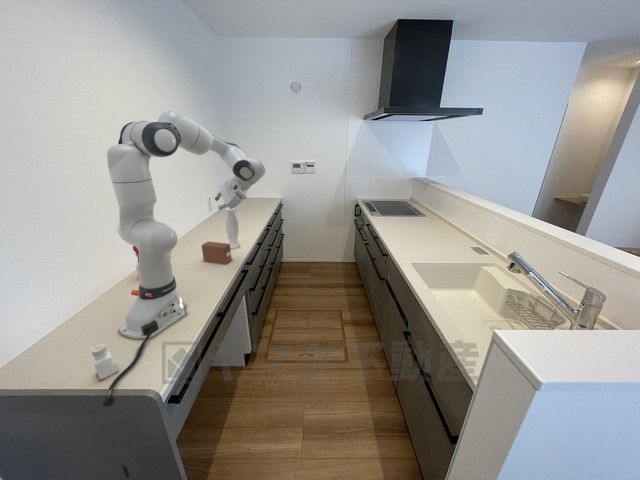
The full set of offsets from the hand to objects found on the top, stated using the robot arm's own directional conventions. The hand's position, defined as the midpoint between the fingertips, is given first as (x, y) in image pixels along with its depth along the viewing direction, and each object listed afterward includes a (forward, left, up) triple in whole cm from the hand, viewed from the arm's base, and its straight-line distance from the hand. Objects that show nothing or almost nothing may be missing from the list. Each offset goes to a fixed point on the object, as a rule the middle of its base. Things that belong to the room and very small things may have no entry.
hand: (217, 204), depth 130 cm
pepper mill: (-19, +32, -36) cm, 51 cm away
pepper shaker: (-70, -4, -36) cm, 79 cm away
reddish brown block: (+7, +9, -35) cm, 37 cm away
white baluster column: (+28, +11, -36) cm, 46 cm away
